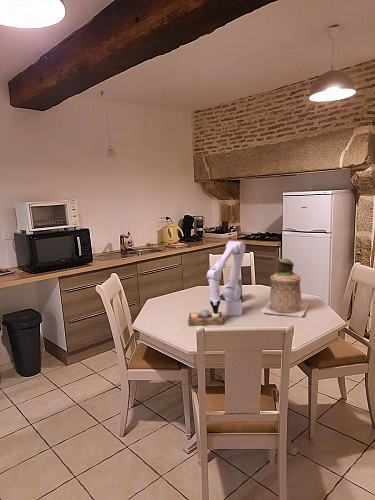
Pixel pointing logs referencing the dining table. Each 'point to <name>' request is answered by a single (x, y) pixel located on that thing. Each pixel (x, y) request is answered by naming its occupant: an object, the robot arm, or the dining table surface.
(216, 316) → the key sage
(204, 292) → the dining table surface
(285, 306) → the cookie jar
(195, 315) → the peach rounded block
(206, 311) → the key slate
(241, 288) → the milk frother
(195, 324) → the brown wooden flat frame
